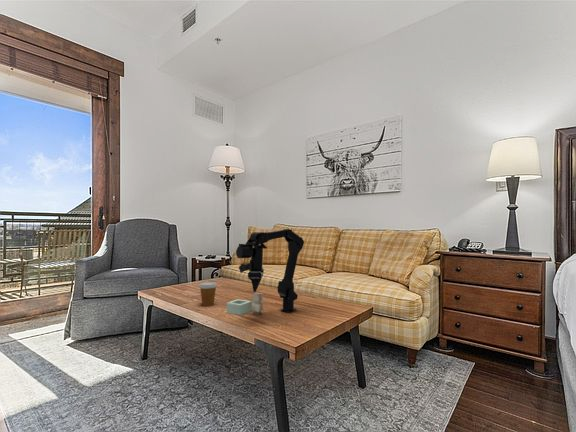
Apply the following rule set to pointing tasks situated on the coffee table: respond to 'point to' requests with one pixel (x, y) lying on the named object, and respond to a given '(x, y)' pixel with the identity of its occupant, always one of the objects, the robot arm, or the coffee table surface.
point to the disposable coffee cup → (208, 293)
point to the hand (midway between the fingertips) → (255, 290)
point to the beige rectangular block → (257, 303)
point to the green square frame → (239, 307)
